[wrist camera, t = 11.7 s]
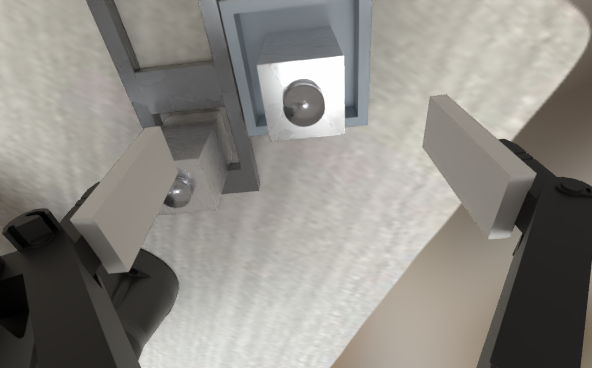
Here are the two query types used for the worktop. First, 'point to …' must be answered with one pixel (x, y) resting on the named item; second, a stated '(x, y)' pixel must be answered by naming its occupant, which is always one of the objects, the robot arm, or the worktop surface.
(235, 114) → the grey slotted plate
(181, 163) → the grey knobbed block
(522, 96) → the worktop surface
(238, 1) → the tray
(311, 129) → the knobbed metal block
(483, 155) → the robot arm
